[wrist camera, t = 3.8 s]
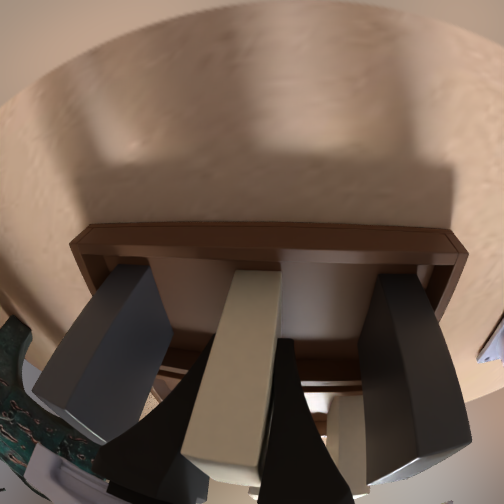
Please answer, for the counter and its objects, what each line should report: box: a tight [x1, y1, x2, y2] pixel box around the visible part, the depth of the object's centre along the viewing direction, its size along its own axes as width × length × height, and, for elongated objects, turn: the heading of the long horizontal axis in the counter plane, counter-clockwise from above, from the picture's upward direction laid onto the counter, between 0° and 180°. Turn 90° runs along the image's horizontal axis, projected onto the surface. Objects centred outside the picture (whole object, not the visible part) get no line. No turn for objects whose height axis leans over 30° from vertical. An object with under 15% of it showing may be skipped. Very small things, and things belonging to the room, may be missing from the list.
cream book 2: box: [326, 395, 370, 499], centre depth 15 cm, size 2×5×8 cm, turn 4°
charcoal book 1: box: [32, 264, 174, 445], centre depth 11 cm, size 2×5×8 cm, turn 4°
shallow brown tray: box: [150, 369, 363, 437], centre depth 18 cm, size 17×9×2 cm, turn 94°
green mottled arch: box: [0, 315, 106, 502], centre depth 15 cm, size 20×6×20 cm, turn 55°
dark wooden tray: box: [69, 222, 469, 386], centre depth 13 cm, size 17×9×2 cm, turn 94°
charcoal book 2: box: [357, 274, 472, 486], centre depth 9 cm, size 2×5×8 cm, turn 4°
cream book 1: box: [181, 270, 282, 487], centre depth 10 cm, size 2×5×8 cm, turn 4°
